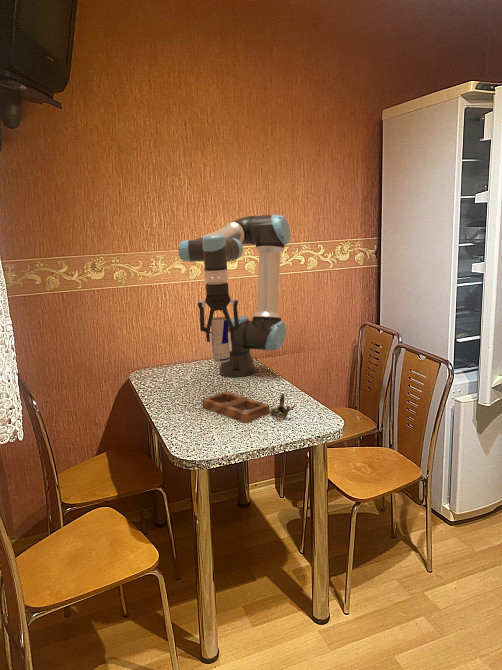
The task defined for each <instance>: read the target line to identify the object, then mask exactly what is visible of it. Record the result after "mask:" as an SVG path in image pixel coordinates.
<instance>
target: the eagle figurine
mask: <svg viewBox="0 0 502 670" xmlns="http://www.w3.org/2000/svg"><path fill="white" fill-rule="evenodd" d="M285 400H286V399H285V393H281V394H280V396H279V404H278V406H275V407H273V408H272V409H271V410H270V413H277V412H280V414H282V415H283V419H284V420H285V419H286V417H287V415H289V412H290V411H291V410H293V409H294V408H295V406H296V404H293V405H292V406H291V407H290V406H289V404H287V406H286V407H285V402H286V401H285Z"/></svg>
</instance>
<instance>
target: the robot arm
mask: <svg viewBox="0 0 502 670" xmlns="http://www.w3.org/2000/svg"><path fill="white" fill-rule="evenodd" d="M290 240H291V230H290V225H289V222H288V220H287V218H286V217H285V216H284V215H282V214H264V215H249V216H244V217H241V218H238V219H235V220H233V221H230V222H228V223H227V224H225V225H224V226H223V228H220V229H218V230H215V231H213V232H210V233H208V234H206V235H203V236H200V237H198V238H195V239H186V240H182V241H180V242H179V245H178V250H177V252H178V256H179V259H180V260H181V261H183V262H186V263H187V262H189V263H192V262H193V263H194V262H203V267H204V281H205V283H206V284H205V295H206V296H205V299H204V300H201V301H198V302H197V306H198V310H199V327H200V329H199V330H200V331H201V332H203V333H205V336H206V342H207V343H209V348H210V353H213V343H212V330H211V322H212V319H213V318H214V314H215V312H216V311H220V312H222V313H223V315H224V316H223V317H225V318H226V321H227V324H228V342H229V351H230V360H229V361H228V362H225V363H219V364H220V365H219V367H218V371H219V373H218V374H219V375H220V376H222V377H228V378H242V377H247V376H250V375H252V374H255V373H256V365H255V363H254V359H253V357H252V354H251V350H259V351H260V350H261V351H278V350H280V349H281V347H282V346H283V345H284V342H285V339H286V334H287V327H286V323H285V322H284V321H282V316H281V315H280V314H279V295H280V294H279V291H280V271H281V270H280V269H281V254H282V252H284V251H285V245H288V244H289V243H290ZM245 245H246V246H255V249H256V251H257V252H258V272H257V273H258V274H257V295H256V296H257V297H256V311H255V313H254V314H252V319H251V320H250V319H249V317H248V316H247V315H239V312H238V311H239V310H238V304H239V300H238V299H234V298H231V296H230V292H229V283H228V280H229V276H228V273H229V272H228V271H229V270H228V262H232V261H233V262H235V261H236V260H238V259H240V258H241V256H243V252H244V247H243V246H245ZM230 304H231V307H232V311H233V317H231V316H230V314H229V311H228V308H227V307H228V306H229V305H230ZM206 305H207V307H208V308H209V309H210V311H209V315H208V319H207V324H206V327H205V323H206V321H205V307H206Z"/></svg>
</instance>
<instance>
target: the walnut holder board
mask: <svg viewBox="0 0 502 670" xmlns="http://www.w3.org/2000/svg"><path fill="white" fill-rule="evenodd" d="M201 403H202V408H203V409H204V410H209V411H211V412H213V413H216V414H219V415H222V416H224V417H227V418H229V419H234V420H235V421H239V422H241V423H244V424H247V423H249V422H252V421H255V420H257V419H260V418H262V417H264V416H267V415H270V414H271V412H270V411H271V410H270V404H268V403H264V402H260V401H259V400H255V399H251V398H249V397H245V396H242V395H240V394H236V393H232V392H229V391H223V392H220V393H218V394H214V395H212V396H208V397H205V398H203V399H202V401H201ZM245 410H246V411H245Z"/></svg>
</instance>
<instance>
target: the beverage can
mask: <svg viewBox="0 0 502 670" xmlns="http://www.w3.org/2000/svg"><path fill="white" fill-rule="evenodd" d="M210 330H211V331H212V343H213V352H212V353H213V354H212V355H213V356H212V357H213V362H214V363H217V364H221V363H225V362H228V361H229V360H230V351H229V342H228V324H227V321H226V318H225V316H215V317H213V319H212V322H211V328H210Z"/></svg>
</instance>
